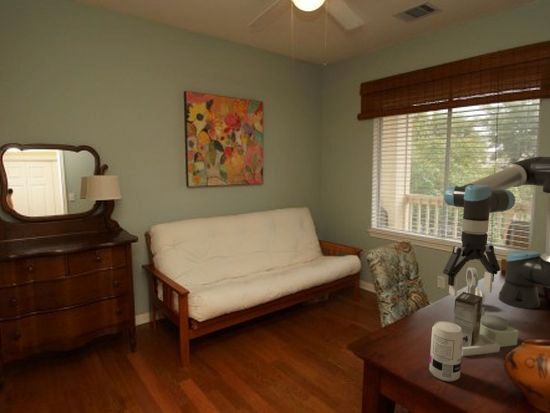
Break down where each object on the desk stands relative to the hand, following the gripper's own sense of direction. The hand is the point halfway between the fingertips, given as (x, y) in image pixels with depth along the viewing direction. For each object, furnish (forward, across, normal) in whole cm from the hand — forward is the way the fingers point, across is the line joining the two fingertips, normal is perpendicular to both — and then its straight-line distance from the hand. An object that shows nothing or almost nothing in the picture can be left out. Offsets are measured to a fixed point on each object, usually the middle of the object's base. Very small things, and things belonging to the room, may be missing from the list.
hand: (470, 292), depth 118 cm
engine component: (+19, -16, -17) cm, 30 cm away
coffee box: (+18, +1, 0) cm, 18 cm away
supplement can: (+18, +20, +14) cm, 30 cm away
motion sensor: (+19, -26, -26) cm, 41 cm away
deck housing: (+18, -4, 0) cm, 19 cm away
